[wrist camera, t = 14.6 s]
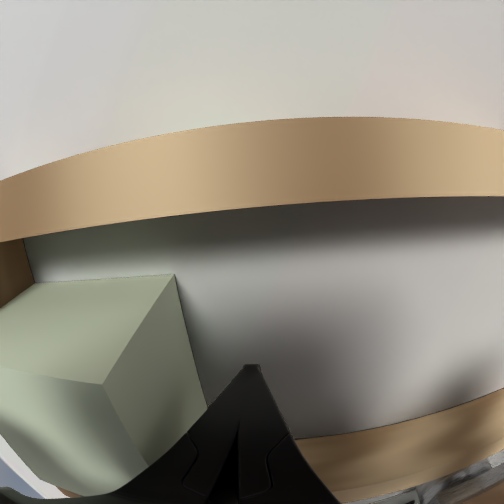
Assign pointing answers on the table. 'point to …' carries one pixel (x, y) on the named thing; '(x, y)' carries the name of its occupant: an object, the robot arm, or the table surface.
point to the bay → (280, 193)
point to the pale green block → (96, 379)
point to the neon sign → (401, 499)
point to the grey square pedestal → (461, 484)
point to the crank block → (489, 496)
